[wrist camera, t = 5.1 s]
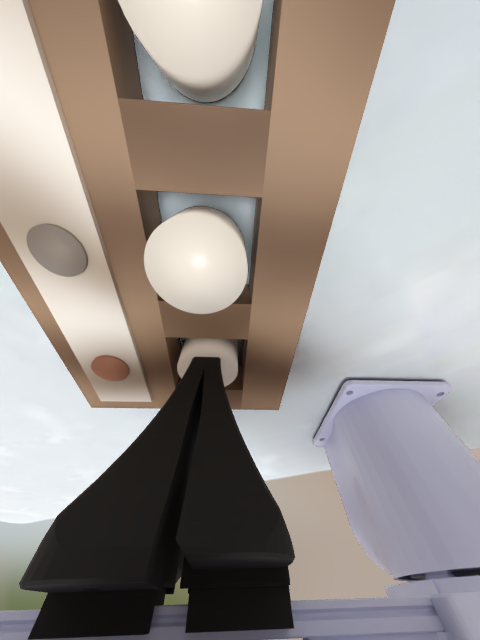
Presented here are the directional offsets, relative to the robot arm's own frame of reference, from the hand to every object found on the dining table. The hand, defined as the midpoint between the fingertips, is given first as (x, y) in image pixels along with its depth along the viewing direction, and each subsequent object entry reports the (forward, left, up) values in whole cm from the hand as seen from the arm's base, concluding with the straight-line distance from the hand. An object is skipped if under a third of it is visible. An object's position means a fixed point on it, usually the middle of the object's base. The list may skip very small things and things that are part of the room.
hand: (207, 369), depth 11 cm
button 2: (0, 0, -2) cm, 2 cm away
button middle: (+6, 0, -1) cm, 6 cm away
